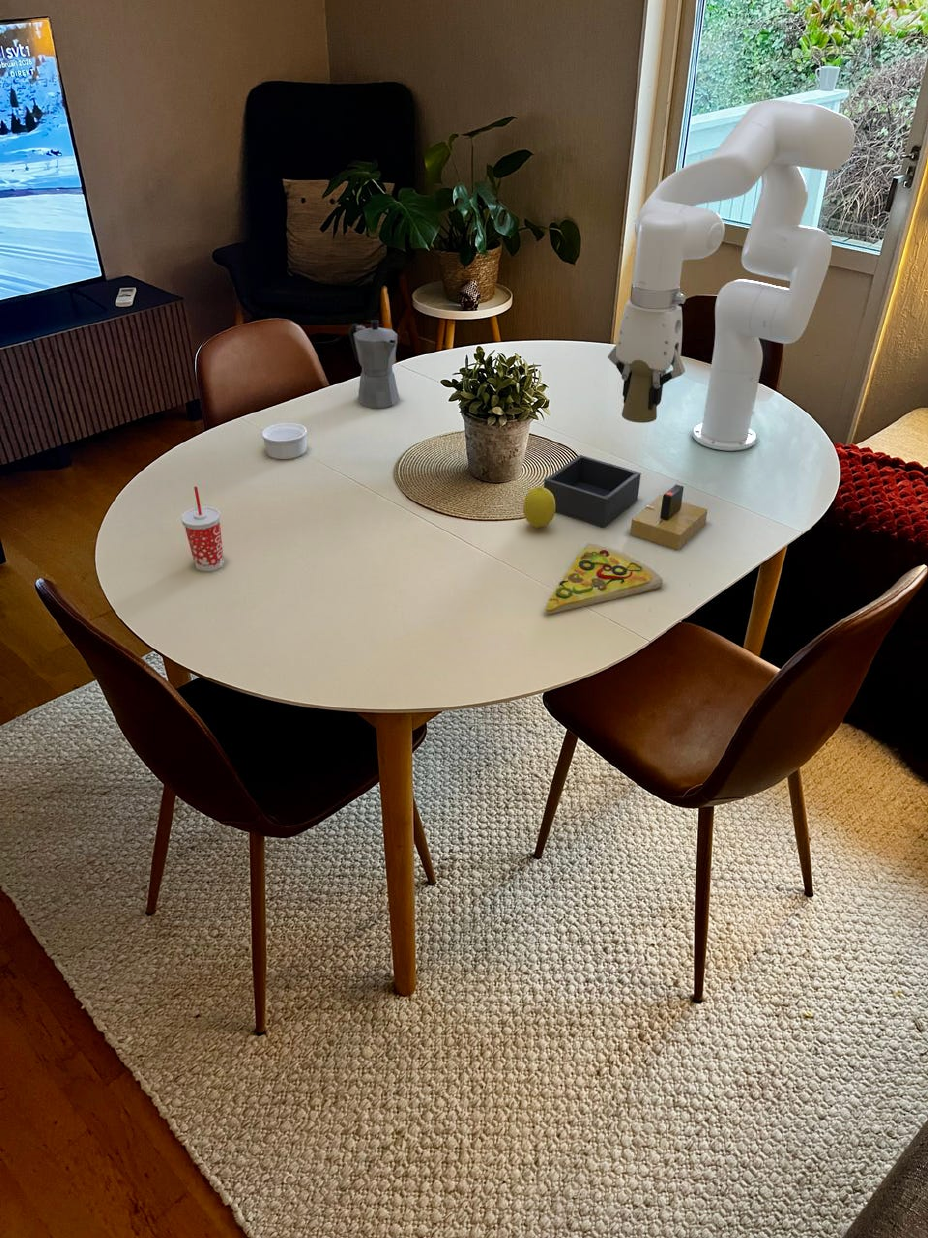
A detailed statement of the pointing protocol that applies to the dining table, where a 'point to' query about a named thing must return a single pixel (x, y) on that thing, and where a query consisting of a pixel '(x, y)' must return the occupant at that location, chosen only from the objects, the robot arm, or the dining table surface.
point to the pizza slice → (601, 579)
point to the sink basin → (593, 490)
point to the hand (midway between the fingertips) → (640, 403)
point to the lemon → (539, 507)
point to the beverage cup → (204, 536)
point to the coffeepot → (375, 364)
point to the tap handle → (671, 502)
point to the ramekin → (285, 440)
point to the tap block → (668, 524)
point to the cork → (639, 394)
